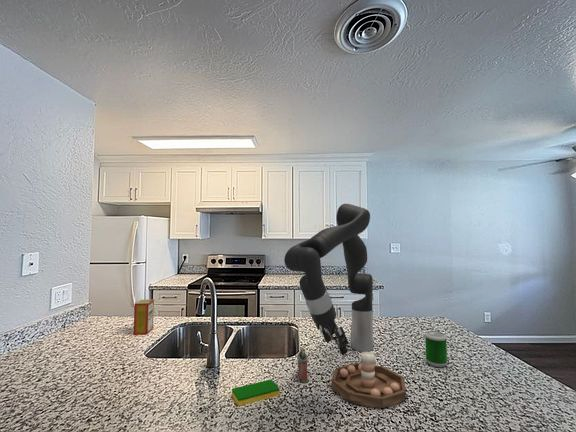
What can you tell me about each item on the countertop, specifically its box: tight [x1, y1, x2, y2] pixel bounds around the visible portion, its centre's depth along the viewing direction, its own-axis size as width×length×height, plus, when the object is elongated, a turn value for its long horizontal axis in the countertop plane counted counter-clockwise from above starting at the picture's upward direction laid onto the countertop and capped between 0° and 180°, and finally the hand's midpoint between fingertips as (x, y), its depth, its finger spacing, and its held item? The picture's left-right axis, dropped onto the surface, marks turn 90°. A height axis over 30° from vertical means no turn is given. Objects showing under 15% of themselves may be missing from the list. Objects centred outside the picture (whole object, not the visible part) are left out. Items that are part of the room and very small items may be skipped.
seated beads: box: [340, 364, 400, 397], centre depth 100 cm, size 20×11×3 cm, turn 27°
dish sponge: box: [231, 379, 281, 407], centre depth 96 cm, size 7×14×2 cm, turn 117°
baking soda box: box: [132, 299, 155, 336], centre depth 157 cm, size 10×6×16 cm
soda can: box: [424, 330, 448, 368], centre depth 119 cm, size 8×8×12 cm
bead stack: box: [360, 351, 376, 388], centre depth 100 cm, size 4×4×10 cm
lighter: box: [297, 346, 309, 384], centre depth 107 cm, size 8×3×10 cm, turn 5°
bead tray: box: [331, 362, 407, 409], centre depth 100 cm, size 23×23×3 cm
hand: (336, 346), depth 96 cm, fingers open, 8 cm apart
